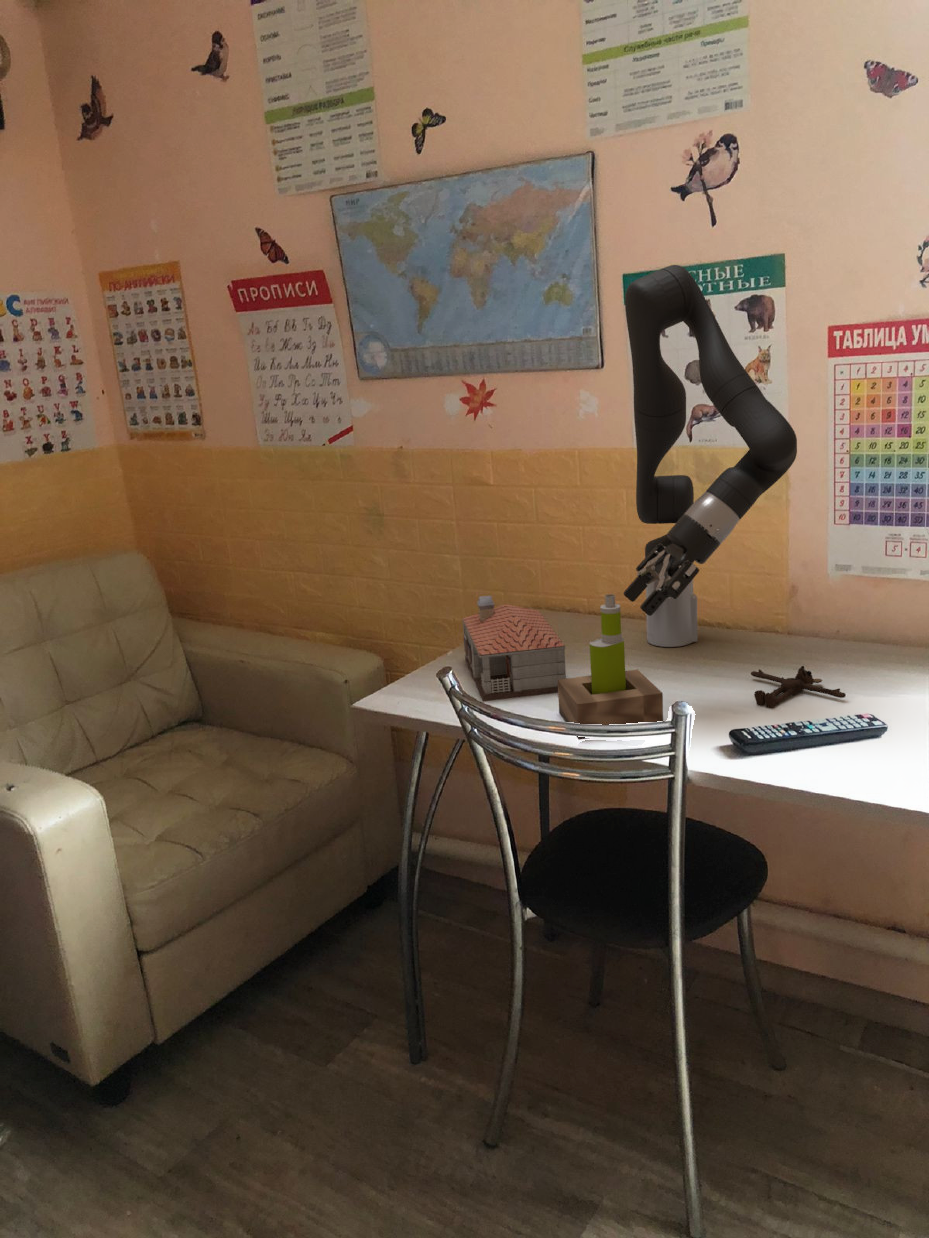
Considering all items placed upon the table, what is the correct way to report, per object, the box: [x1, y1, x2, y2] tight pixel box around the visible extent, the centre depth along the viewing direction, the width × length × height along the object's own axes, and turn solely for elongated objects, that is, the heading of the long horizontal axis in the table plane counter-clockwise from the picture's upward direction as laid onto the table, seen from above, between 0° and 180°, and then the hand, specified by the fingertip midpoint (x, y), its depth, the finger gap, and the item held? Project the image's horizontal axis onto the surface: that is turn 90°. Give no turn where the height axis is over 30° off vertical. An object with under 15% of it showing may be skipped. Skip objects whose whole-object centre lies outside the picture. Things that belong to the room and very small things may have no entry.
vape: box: [589, 594, 626, 695], centre depth 167 cm, size 4×6×20 cm, turn 126°
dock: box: [557, 669, 664, 741], centre depth 169 cm, size 14×12×6 cm
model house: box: [461, 595, 567, 702], centre depth 192 cm, size 24×16×15 cm, turn 7°
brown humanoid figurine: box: [750, 665, 847, 709], centre depth 175 cm, size 18×4×14 cm
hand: (635, 605), depth 165 cm, fingers open, 8 cm apart
